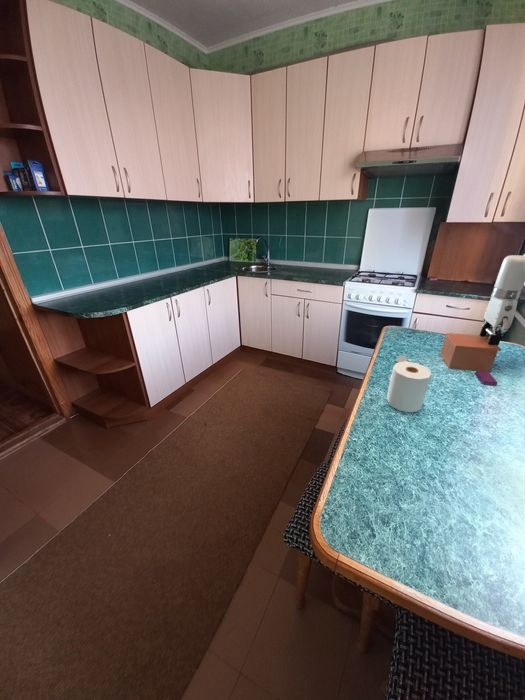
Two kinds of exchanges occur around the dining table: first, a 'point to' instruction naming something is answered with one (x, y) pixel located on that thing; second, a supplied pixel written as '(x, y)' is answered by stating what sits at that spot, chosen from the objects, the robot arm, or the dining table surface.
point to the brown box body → (467, 357)
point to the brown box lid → (473, 341)
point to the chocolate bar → (486, 378)
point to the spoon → (400, 359)
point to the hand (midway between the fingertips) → (488, 340)
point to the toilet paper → (408, 386)
